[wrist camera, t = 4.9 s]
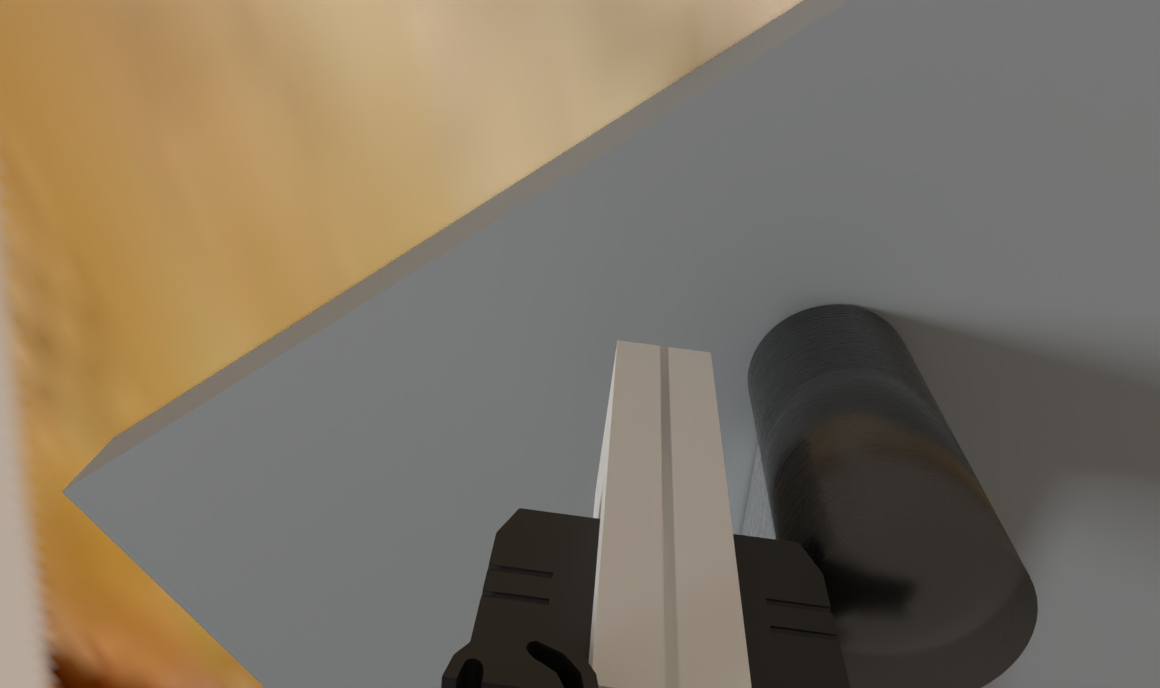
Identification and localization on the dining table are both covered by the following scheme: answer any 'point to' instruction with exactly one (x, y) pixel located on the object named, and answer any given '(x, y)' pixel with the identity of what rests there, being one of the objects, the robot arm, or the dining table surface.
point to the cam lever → (882, 505)
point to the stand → (707, 338)
